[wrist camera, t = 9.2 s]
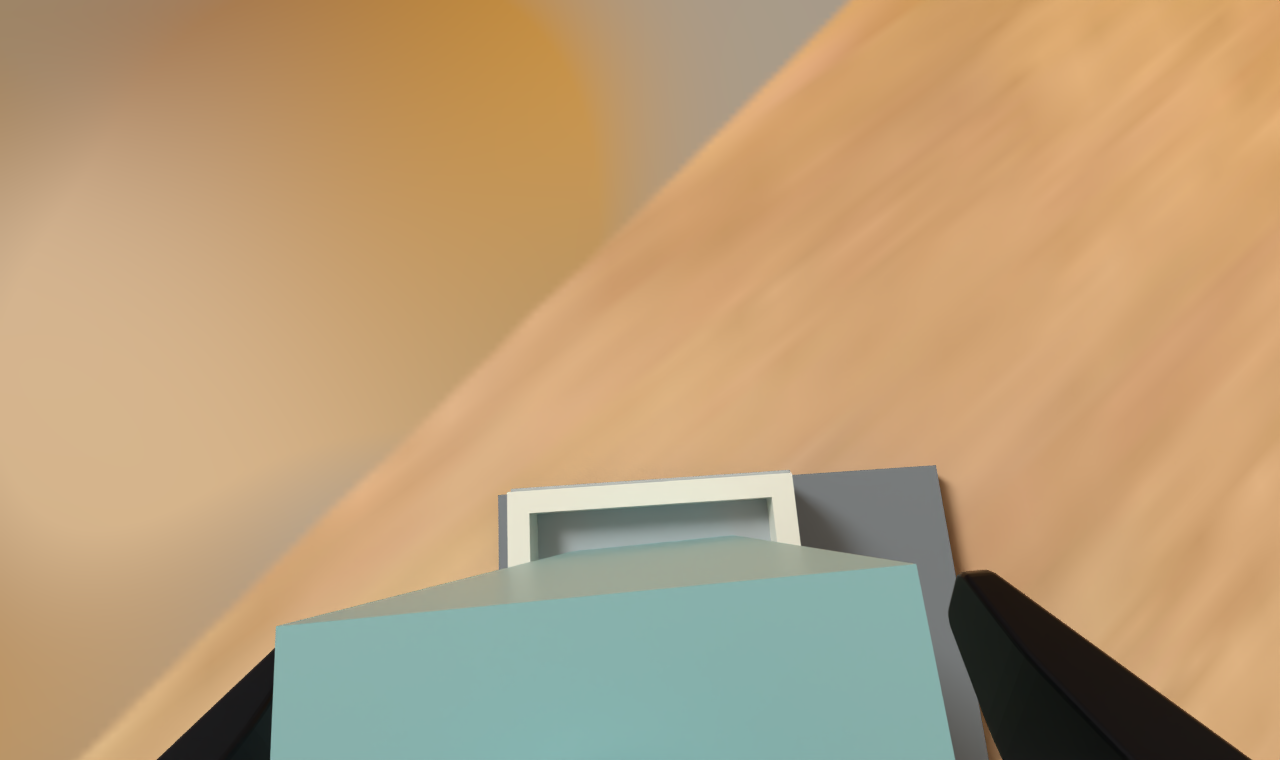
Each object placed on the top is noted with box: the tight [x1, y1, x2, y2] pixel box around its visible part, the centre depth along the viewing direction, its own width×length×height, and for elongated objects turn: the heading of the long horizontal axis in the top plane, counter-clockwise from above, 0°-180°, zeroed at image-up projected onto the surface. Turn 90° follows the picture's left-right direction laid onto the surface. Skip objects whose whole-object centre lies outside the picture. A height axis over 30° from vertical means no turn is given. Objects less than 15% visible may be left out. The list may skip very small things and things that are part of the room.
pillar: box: [270, 535, 955, 760], centre depth 10 cm, size 4×4×14 cm
